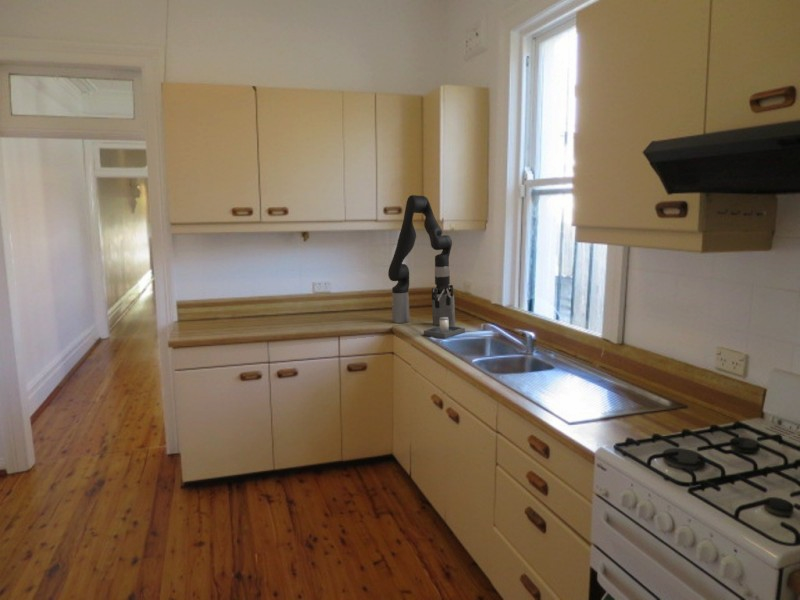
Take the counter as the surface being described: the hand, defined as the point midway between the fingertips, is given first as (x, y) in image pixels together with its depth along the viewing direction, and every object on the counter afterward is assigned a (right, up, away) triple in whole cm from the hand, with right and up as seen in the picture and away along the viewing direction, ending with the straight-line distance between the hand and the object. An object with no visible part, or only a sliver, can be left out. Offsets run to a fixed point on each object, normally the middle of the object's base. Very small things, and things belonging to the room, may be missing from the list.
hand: (442, 306), depth 291 cm
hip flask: (+2, -11, +23) cm, 26 cm away
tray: (+1, -14, +2) cm, 14 cm away
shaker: (+1, -13, +2) cm, 14 cm away
